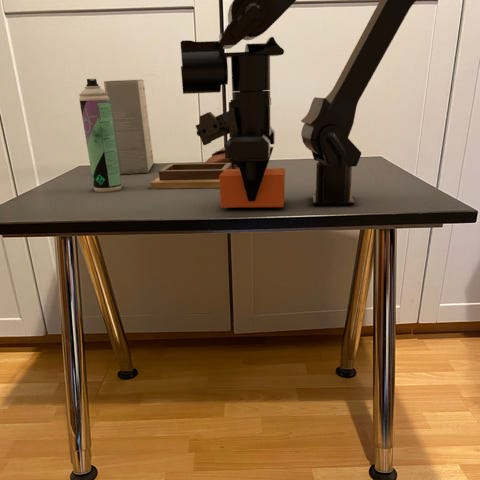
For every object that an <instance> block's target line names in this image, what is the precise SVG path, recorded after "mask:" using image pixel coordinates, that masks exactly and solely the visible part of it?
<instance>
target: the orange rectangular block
mask: <svg viewBox="0 0 480 480" xmlns="http://www.w3.org/2000/svg"><path fill="white" fill-rule="evenodd" d="M285 172H286V169H285V168H284V167H282V168H277V167H275V168H266V170H265V173H264V176H263V179H262V182H261V185H260V188H259V191H258V194H257V197H256V199H255V201H248V198H247V194H246V190H245V187H244V183H243V179H242V175H241V171H240V169H239V168H232V169H225V170H224V171H223V172H222V173H221V174H220V176H219V181H220V188H219V198H220V199H219V200H220V208H284V205H285V185H286V184H285V181H286V179H285V178H286V177H285V175H286V174H285Z"/></svg>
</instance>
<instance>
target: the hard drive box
mask: <svg viewBox="0 0 480 480" xmlns="http://www.w3.org/2000/svg"><path fill="white" fill-rule="evenodd" d="M103 87H104V91H105V92H107V93H108V96H109V99H110V106H111V113H112V120H113V127H114V134H115V141H116V149H117V156H118V163H119V170H120V175H132V174H134V175H135V174H148V173H150V170H151V168H152V166H153V165H154V153H153V146H152V145H153V144H152V139H151V137H152V136H151V129H150V122H149V114H148V113H149V112H148V105H147V98H146V97H147V96H146V87H145V81H144V79H142V78H141V79H118V80H117V79H116V80H115V79H114V80H106V81H105V80H104V81H103Z"/></svg>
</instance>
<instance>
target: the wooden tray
mask: <svg viewBox="0 0 480 480" xmlns="http://www.w3.org/2000/svg"><path fill="white" fill-rule="evenodd" d="M225 169H233V168H232V163H205V162H198V163H194V162H193V163H192V162H191V163H168V164H167V165H166V166H164V167H163V168H161V169H159V171H158V177H157V178H155V179H153V180H152V181H151V182H150V188H151V189H152V190H153V189H155V190H157V189H220V181H219V176H220V174H221V173H222V172H223V171H224V170H225Z"/></svg>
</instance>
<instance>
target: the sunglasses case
mask: <svg viewBox="0 0 480 480" xmlns="http://www.w3.org/2000/svg"><path fill="white" fill-rule="evenodd" d="M204 163H232V169H234V168H235V167H236V165H235V164H234V163H233V162H231V161H230V160H229V158H225V146H224V147H221V148H220V149H219V150H216V151H215V152H213V153H211V156H210V157H209V158H208V159H206V160H205V161H204Z"/></svg>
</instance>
